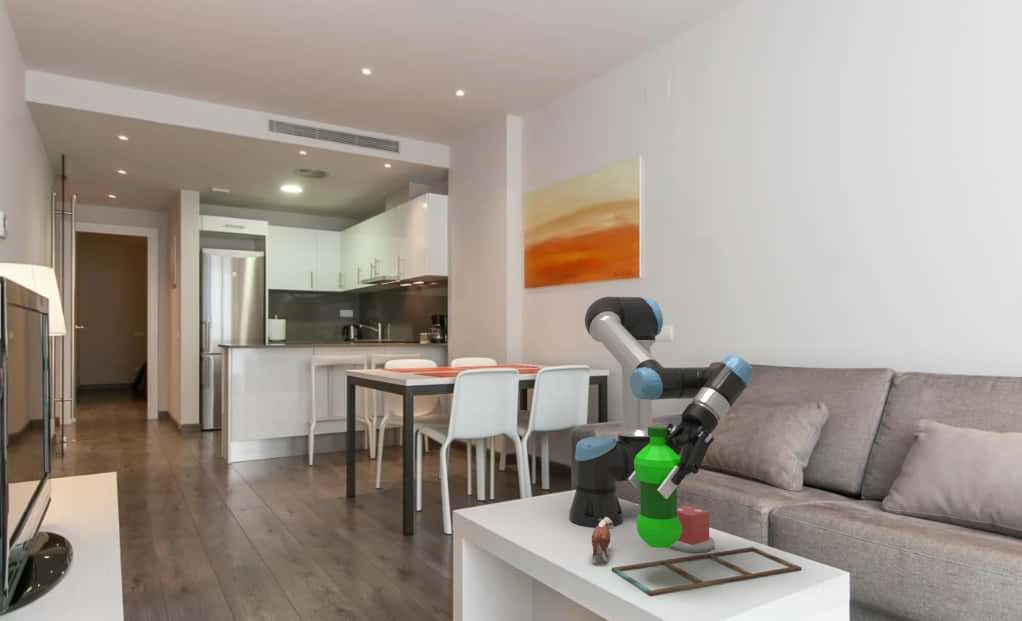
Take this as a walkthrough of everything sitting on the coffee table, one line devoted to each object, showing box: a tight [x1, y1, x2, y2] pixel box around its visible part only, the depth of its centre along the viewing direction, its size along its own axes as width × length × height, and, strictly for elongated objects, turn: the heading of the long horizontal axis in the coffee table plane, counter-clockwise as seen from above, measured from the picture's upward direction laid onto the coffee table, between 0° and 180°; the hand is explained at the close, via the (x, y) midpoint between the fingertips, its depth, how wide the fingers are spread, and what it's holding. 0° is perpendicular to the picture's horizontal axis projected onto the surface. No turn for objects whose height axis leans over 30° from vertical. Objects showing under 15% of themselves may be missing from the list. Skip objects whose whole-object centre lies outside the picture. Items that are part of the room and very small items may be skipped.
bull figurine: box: [591, 517, 614, 565], centre depth 147 cm, size 4×13×8 cm, turn 161°
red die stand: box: [668, 505, 715, 554], centre depth 156 cm, size 12×12×9 cm
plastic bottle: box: [634, 425, 682, 549], centre depth 134 cm, size 10×10×25 cm
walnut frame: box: [611, 546, 802, 597], centre depth 138 cm, size 15×40×1 cm, turn 111°
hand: (646, 488), depth 133 cm, fingers closed on plastic bottle, 10 cm apart
